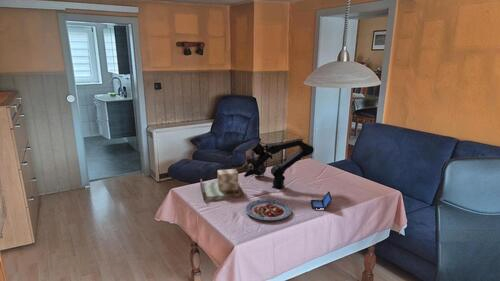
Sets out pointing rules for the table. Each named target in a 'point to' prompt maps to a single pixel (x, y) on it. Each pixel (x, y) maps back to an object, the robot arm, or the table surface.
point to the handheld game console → (322, 202)
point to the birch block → (227, 179)
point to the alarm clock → (262, 169)
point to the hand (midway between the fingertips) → (244, 176)
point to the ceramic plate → (268, 209)
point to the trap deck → (218, 192)
